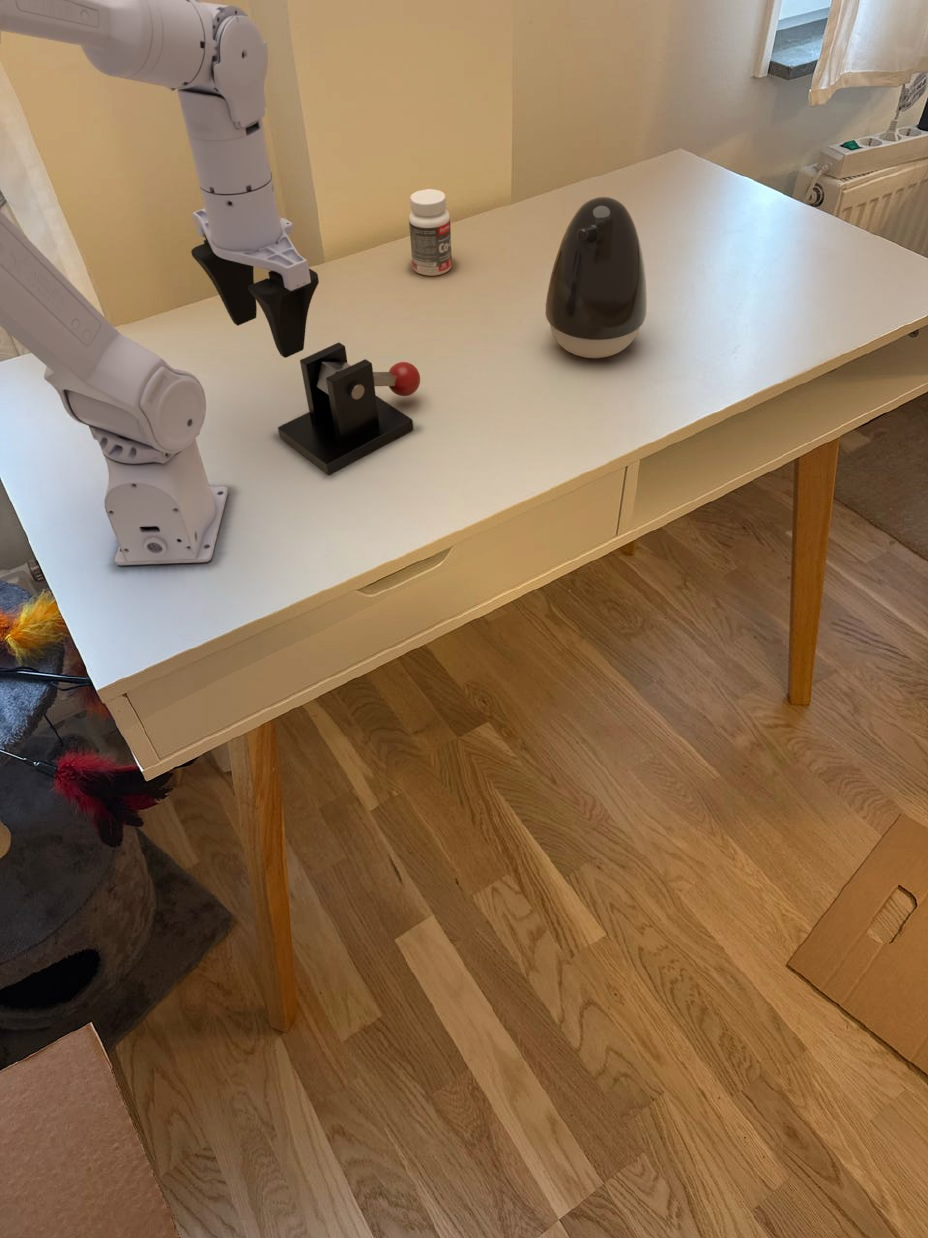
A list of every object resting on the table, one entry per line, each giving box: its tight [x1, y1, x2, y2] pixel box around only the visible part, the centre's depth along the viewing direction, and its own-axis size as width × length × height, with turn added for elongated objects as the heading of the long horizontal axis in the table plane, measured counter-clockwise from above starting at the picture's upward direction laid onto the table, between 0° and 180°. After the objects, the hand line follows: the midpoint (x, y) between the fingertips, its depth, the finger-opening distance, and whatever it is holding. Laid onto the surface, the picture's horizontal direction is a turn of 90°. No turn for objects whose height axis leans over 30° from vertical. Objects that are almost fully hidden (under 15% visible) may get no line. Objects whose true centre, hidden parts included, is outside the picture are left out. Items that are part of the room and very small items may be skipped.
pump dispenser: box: [545, 196, 648, 359], centre depth 92 cm, size 10×10×15 cm
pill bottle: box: [408, 188, 453, 277], centre depth 108 cm, size 5×5×8 cm
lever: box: [317, 361, 421, 397], centre depth 87 cm, size 11×3×3 cm, turn 132°
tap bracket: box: [277, 341, 414, 476], centre depth 86 cm, size 10×8×8 cm
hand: (268, 336), depth 83 cm, fingers open, 7 cm apart
